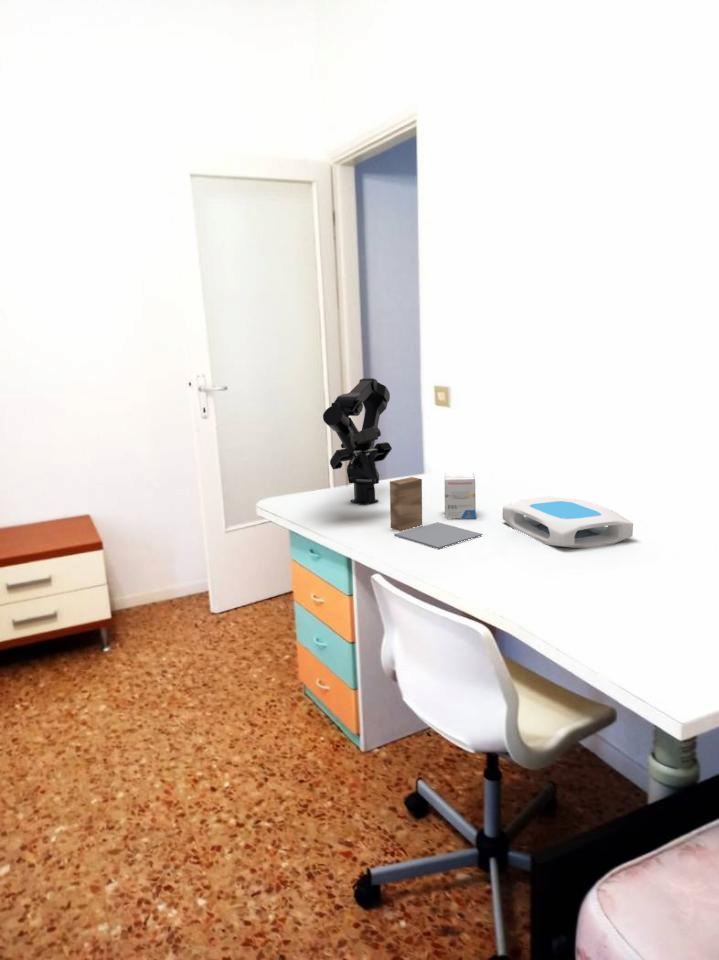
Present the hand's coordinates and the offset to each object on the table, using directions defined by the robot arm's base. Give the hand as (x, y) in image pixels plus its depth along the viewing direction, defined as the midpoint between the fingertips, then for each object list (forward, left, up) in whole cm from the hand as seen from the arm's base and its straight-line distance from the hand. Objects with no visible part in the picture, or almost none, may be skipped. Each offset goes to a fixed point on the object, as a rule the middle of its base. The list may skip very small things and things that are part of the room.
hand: (375, 479), depth 191 cm
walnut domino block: (+9, +3, -12) cm, 16 cm away
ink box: (+11, +22, -13) cm, 28 cm away
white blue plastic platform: (+41, +29, -13) cm, 52 cm away
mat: (+21, +3, -12) cm, 25 cm away
